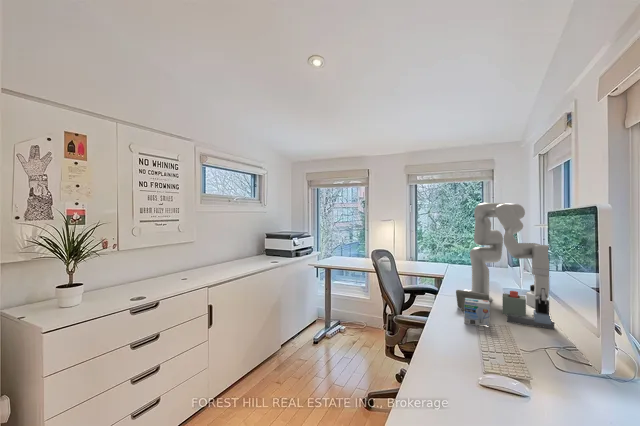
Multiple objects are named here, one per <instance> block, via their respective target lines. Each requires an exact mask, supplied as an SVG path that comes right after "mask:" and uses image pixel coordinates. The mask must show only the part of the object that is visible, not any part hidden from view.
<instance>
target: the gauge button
mask: <svg viewBox="0 0 640 426" xmlns="http://www.w3.org/2000/svg"><path fill="white" fill-rule="evenodd" d="M509 294H510V297H514V298H518V295H519V292H518V291H517V290H510V291H509Z"/></svg>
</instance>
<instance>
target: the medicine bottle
mask: <svg viewBox="0 0 640 426" xmlns="http://www.w3.org/2000/svg"><path fill="white" fill-rule="evenodd" d="M529 290H530V291H527V292H526V294H525V297H526V306H529V307H532V308H534V309H535V299H538V296H537V297H536V296H535V294H534V283H533V284H531V285H530V286H529ZM548 298H549V297H548ZM548 298H546V300H549V299H548Z"/></svg>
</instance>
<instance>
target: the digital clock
mask: <svg viewBox="0 0 640 426" xmlns="http://www.w3.org/2000/svg"><path fill="white" fill-rule="evenodd" d="M464 290H465V289H462V290H461V289H456V290H455V294H456V296H455V297H456V304H457V307H458V308H459V309H461V312H464V305H465V298H470V299H478V300H487V301H489V296H490V295H489V296H488V295H487V294H483V293H477V292H470V290H468V291H464ZM489 302H490V301H489Z"/></svg>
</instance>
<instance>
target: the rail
mask: <svg viewBox="0 0 640 426" xmlns="http://www.w3.org/2000/svg"><path fill="white" fill-rule="evenodd" d="M506 322H507V323H512V324H517V325H524V326H531V327H535V328H542V329H548V330H554V331H555V321H554V322H552V321H551V325H550V324H544V323H537V322H534V316H527V315H526V316H521V315H515V314H508V313H507V315H506Z"/></svg>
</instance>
